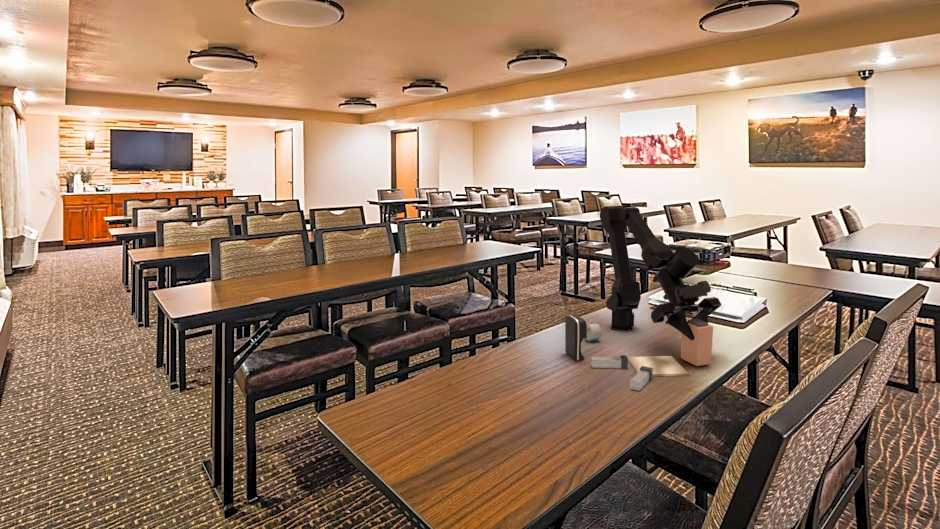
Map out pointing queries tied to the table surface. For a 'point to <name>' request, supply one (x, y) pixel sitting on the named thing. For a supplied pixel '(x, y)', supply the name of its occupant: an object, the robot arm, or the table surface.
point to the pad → (658, 365)
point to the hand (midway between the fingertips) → (700, 338)
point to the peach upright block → (698, 343)
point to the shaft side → (610, 362)
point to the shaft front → (641, 378)
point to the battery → (574, 336)
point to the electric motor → (593, 332)
